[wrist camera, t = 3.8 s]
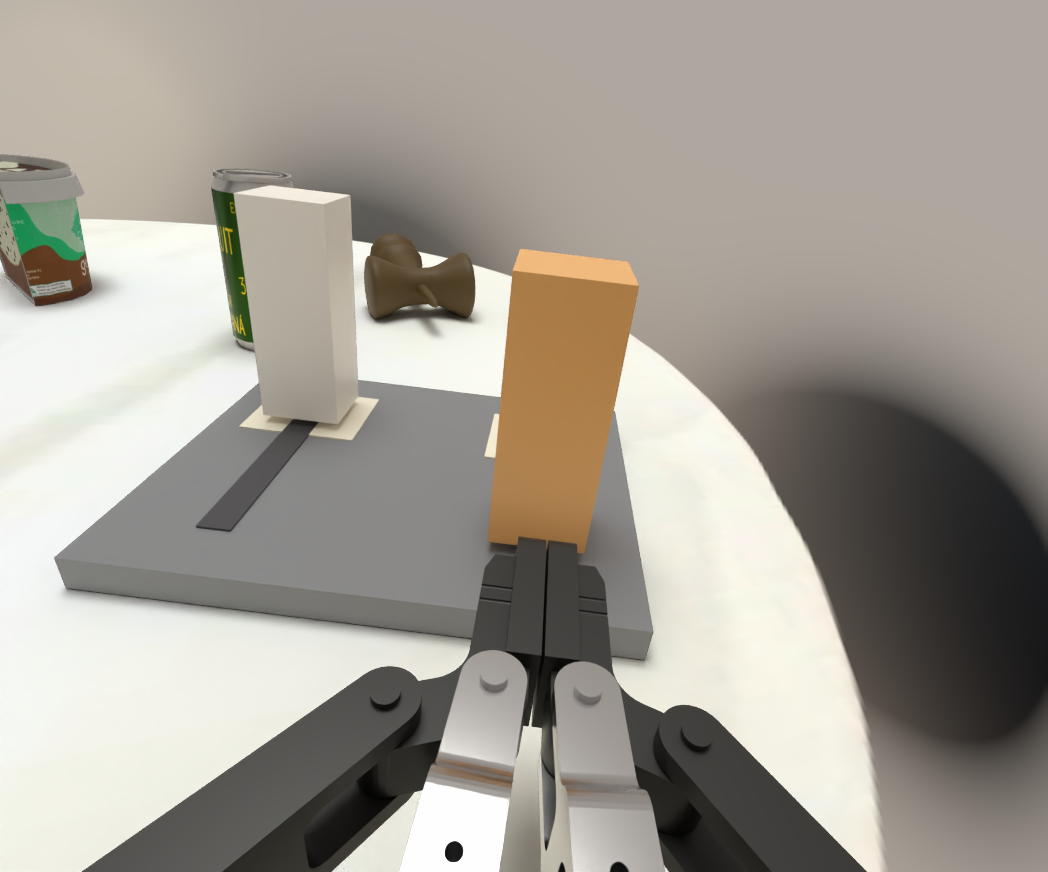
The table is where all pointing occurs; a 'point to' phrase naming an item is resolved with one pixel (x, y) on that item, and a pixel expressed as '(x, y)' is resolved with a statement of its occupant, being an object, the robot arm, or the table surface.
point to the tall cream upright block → (300, 300)
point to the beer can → (238, 238)
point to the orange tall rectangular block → (558, 393)
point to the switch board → (344, 519)
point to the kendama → (415, 279)
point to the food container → (42, 229)
